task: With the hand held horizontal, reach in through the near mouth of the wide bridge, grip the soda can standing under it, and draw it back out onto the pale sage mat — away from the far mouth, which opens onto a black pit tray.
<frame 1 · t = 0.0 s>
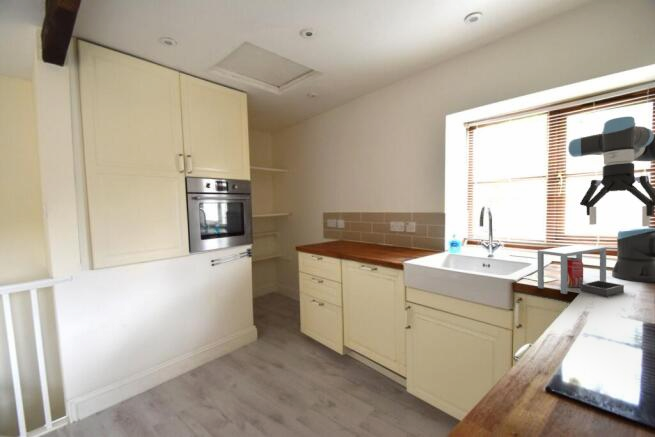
hand: (617, 225, 95), 28 cm above the countertop, tool pointing down, fingers open, 13 cm apart
bridge: (572, 285, 119), on the countertop
pit tray: (602, 292, 109), on the countertop
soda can: (572, 286, 119), on the countertop
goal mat: (539, 278, 131), on the countertop
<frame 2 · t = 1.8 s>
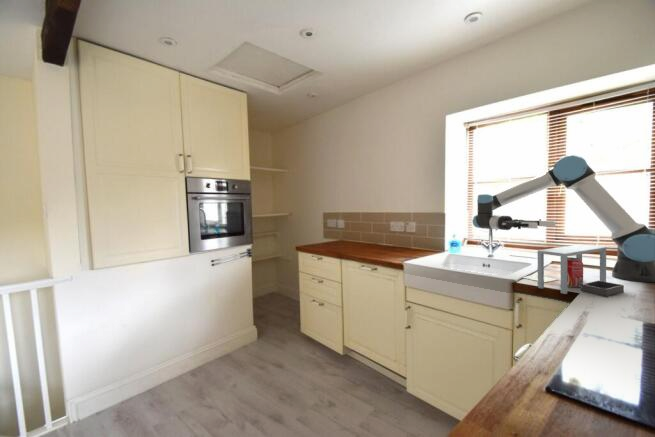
hand: (546, 224, 127), 26 cm above the countertop, tool horizontal, fingers open, 13 cm apart
nothing on the countertop moved.
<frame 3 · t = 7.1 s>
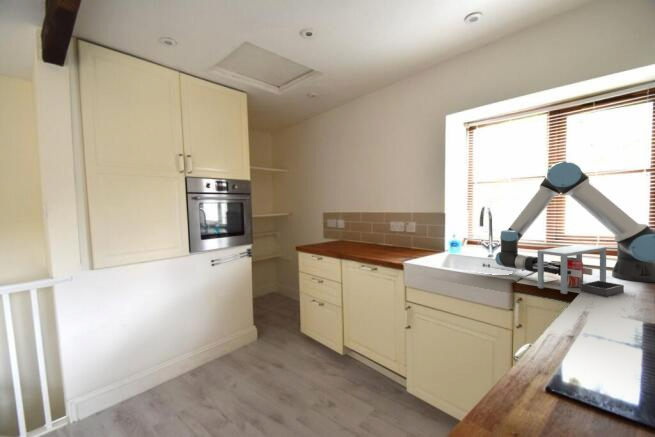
hand: (586, 273, 114), 7 cm above the countertop, tool horizontal, fingers closed on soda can, 7 cm apart
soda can: (572, 286, 119), on the countertop, touching gripper
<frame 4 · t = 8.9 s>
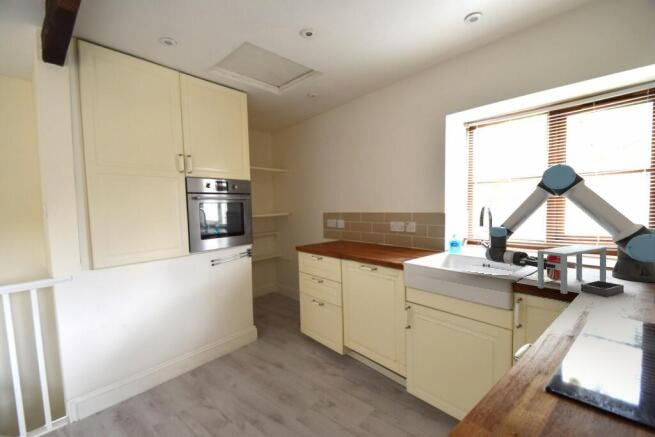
hand: (570, 266, 119), 8 cm above the countertop, tool horizontal, fingers closed on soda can, 7 cm apart
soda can: (556, 279, 123), point 1 cm above the countertop, touching gripper
when the fingers open (7 cm above the countertop, at t = 10.8 s): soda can stays where it is, resting on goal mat.
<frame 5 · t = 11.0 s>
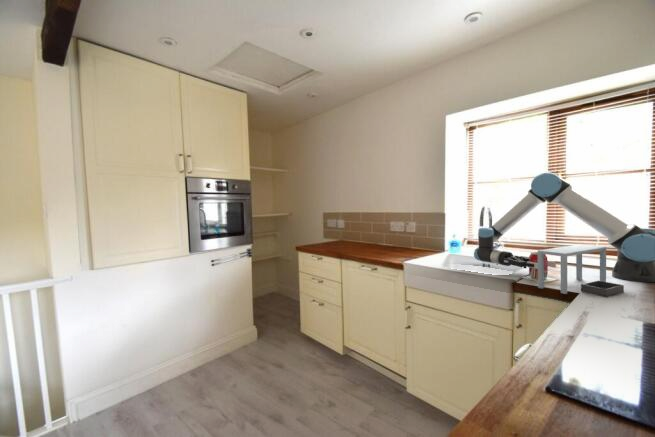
hand: (549, 265, 127), 7 cm above the countertop, tool horizontal, fingers open, 9 cm apart
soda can: (538, 278, 131), resting on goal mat
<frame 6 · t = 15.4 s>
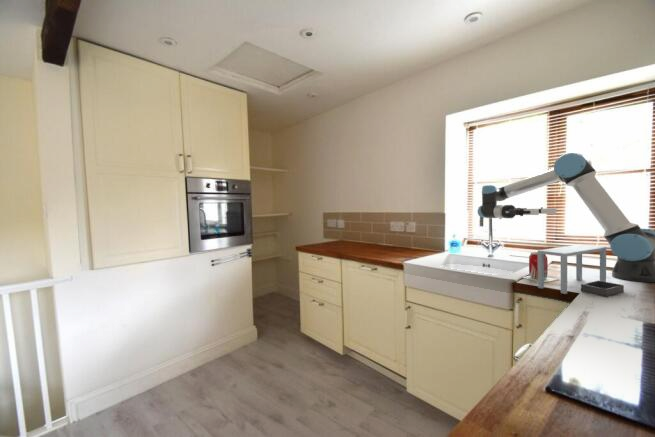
hand: (547, 211, 134), 32 cm above the countertop, tool horizontal, fingers open, 13 cm apart
nothing on the countertop moved.
at the end: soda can inside the target area (0.5 cm from its centre), resting on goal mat; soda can tilted 0°; the gripper is holding nothing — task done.
